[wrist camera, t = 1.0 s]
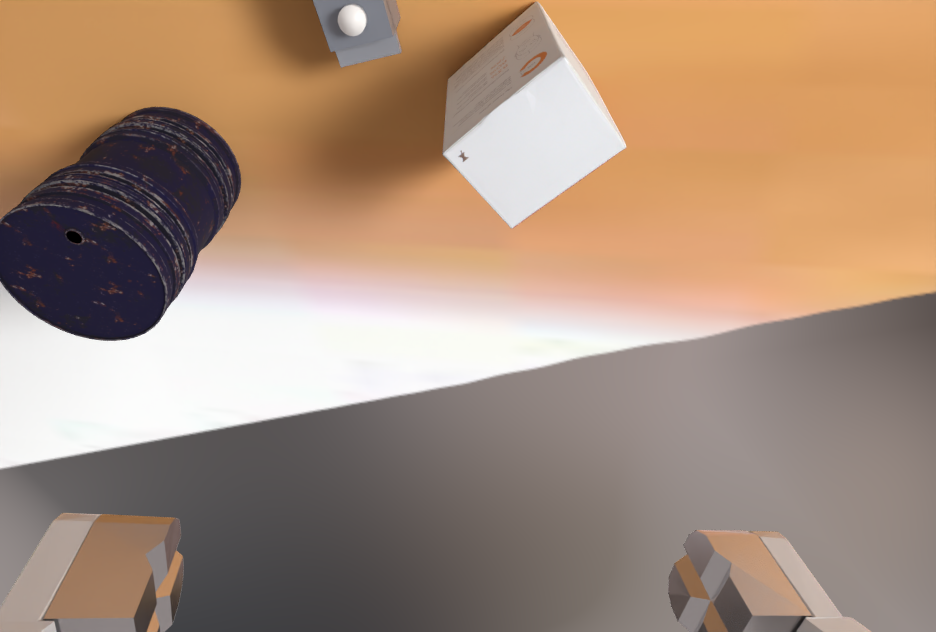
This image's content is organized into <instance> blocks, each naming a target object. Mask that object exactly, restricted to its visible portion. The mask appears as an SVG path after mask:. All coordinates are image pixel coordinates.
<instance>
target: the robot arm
mask: <svg viewBox="0 0 936 632" xmlns="http://www.w3.org/2000/svg"><path fill="white" fill-rule="evenodd" d="M180 538H181V529H180V521H179V519H177V518H167V517H146V516H127V515H126V516H125V515H107V514H102V515H98V514H75V513H62V514H61V515H60V516H59V517H58V518H56V519H55V520H54V521H53V522H52V523H51V525H50V526H49V528H48V530H47V531H46V533H45V535H44V536H43V538H42V539H41V541H40V543H39V544H38V546H37V548H36V549H35V551H34V553H33V554H32V556H31V557H30V559H29V561H28V562H27V564H26V566H25V567H24V569H23V570H22V572H21V574H20V575H19V577H18V579H17V580H16V582H15V584H14V585H13V587H12V589H11V590H10V592H9V593H8V595H7V597H6V598H5V600H4V602H3V603H2V605H1V606H0V632H164V631H166V630H167V629H168V628H169V627H170V626H171V625H172V624H173V621H174V618H175V614H176V611H177V608H178V604H179V599H180V594H181V589H182V584H183V570H184V566H183V556H182V555H181V554H180V553H178V552H177V551H176V549H177V546H178V543H179V540H180ZM684 548H685V550H686V553H687V555H686V556H684V557H683V558H681V559H680V560H679V561H677V562H676V563H675V564H674V566H673V568H672V571H671V573H670V575H669V588H668V591H669V592H668V594H669V598H670V602H671V607H672V609H673V612H674V614H675V616H676V618H677V621H678V622H679V623H680V624H681V625H682V626H683V627H685V628H686V629H687V630H688V631H689V632H871V631H870V630H868V629H867V628H865V627H864V626H863V625H861V624H860V623H858V622H857V621H856V620H854V619H853V618H851V617H842V615H841V614H840V613H839V611H838V610H837V608H836V607H835V605H834V604H833V603H832V601H831V600H830V598H829V597H828V596H827V594H826V593H825V592H824V590H823V589H822V587H821V586H820V585H819V583H818V582H817V580H816V579H815V578H814V576H813V575H812V573H811V572H810V571H809V569H808V568H807V566H806V565H805V564H804V562H803V561H802V560H801V558H800V557H799V555H798V554H797V553H796V551H795V550H794V548H793V547H792V546H791V544H790V543H789V541H788V540H787V539H786V538H785V537H784V536H783V535H781V534H780V533H778V532H770V531H769V532H767V531H748V532H747V531H734V530H695V531H694V532H692V533H691V534H689V535H688V537H687V539H686V541H685V543H684Z"/></svg>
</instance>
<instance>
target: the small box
mask: <svg viewBox="0 0 936 632" xmlns="http://www.w3.org/2000/svg"><path fill="white" fill-rule="evenodd" d="M625 148H626V144H625V142H624V140H623V137H622V136H621V134H620V132H619V130H618V128H617V126H616V124H615V123H614V121H613V119H612V117H611V115H610V113H609V111H608V109H607V108H606V106H605V104H604V102H603V100H602V98H601V96H600V94H599V92H598V91H597V89H596V87H595V85H594V84H593V82H592V80H591V78H590V76H589V75H588V73H587V71H586V70H585V68H584V67H583V65H582V64H581V63H580V61H579V60H578V58H577V57H576V55H575V54H574V52H573V51H572V49H571V48H570V47H569V45H568V44H567V42H566V41H565V39H564V38H563V36H562V35H561V33H560V32H559V30H558V29H557V28H556V26H555V25H554V23H553V22H552V20H551V19H550V17H549V16H548V15H547V13H546V12H545V10H544V9H543V7H542V6H541V4H540V3H539V2H535V3H534V4H532V5H531V6H530V7H529V8H528V9H527V10H526V11H524V12H523V13H522V14H521V15H520V16H519V17H518V18H516V19H515V20H514V21H513V22H512V23H511V24H509V25H508V26H507V27H506V28H505V29H504V30H503V31H501V32H500V33H499V34H498V35H497V36H496V37H495V38H494V39H492V40H491V41H490V42H489V43H488V44H487V45H486V46H485V47H483V48H482V49H481V50H480V51H479V52H478V53H477V54H476V55H474V56H473V57H472V58H471V59H470V60H469V61H468V62H466V63H465V64H464V65H463V66H462V67H461V68H460V69H459V70H458V71H456V72H455V73H454V74H453V75H452V76H451V77H450V78H449V79H448V84H447V99H446V113H445V127H444V140H443V153H442V154H443V156H444V157H445V158H446V159H447V160H448V161H449V162H450V163H451V164H452V165H453V166H454V167H455V168H456V169H457V170H458V171H459V172H460V173H461V174H462V175H463V177H464V178H465V179H466V180H467V181H468V182H469V183H470V184H471V185H472V186H473V187H474V188H475V189H476V191H477V192H478V193H479V194H480V195H481V196H482V197H483V198H484V199H485V200H486V201H487V202H488V204H489V205H490V206H491V207H492V208H493V209H494V210H495V211H496V212H497V213H498V215H499V216H500V217H501V218H502V219H503V220H504V221H505V222H506V223H507V224H508V225H509V227H510V228H514V227H516V226H517V225H518V224H520V223H521V222H523V221H524V220H525V219H527V218H528V217H530V216H531V215H532V214H534V213H535V212H537V211H538V210H539V209H541V208H542V207H544V206H545V205H546V204H548V203H549V202H551V201H552V200H553V199H555V198H556V197H558V196H559V195H560V194H562V193H563V192H565V191H566V190H568V189H569V188H570V187H572V186H573V185H574V184H576V183H577V182H579V181H580V180H582V179H583V178H584V177H586V176H587V175H588V174H590V173H591V172H593V171H594V170H596V169H597V168H598V167H600V166H601V165H603V164H604V163H605V162H607V161H608V160H610V159H611V158H612V157H614V156H615V155H617V154H618V153H619V152H621V151H622V150H624V149H625Z"/></svg>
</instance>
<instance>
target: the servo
mask: <svg viewBox="0 0 936 632" xmlns="http://www.w3.org/2000/svg"><path fill="white" fill-rule="evenodd" d="M313 2H314V5H315V8H316V11H317V14H318V17H319V20H320V23H321V26H322V28H323V31H324V34H325V37H326V40H327V43H328V46H329V49H330V51H331V52H333V51H335V52H336V55H337V58H338V61H339V64H340V67H345V66H349V65H353V64H357V63H362V62H366V61H370V60H374V59H378V58H382V57H386V56H391V55H395V54H399V53H401V51H402V50H401V46H400V42H399V39H398V35H397V32H396V28H397V26H398V23H399V21H400V14H399V10H398V6H397V3H396V0H313Z"/></svg>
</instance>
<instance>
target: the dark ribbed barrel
mask: <svg viewBox="0 0 936 632" xmlns="http://www.w3.org/2000/svg"><path fill="white" fill-rule="evenodd" d="M240 188H241V174H240V170H239V165H238V163H237V160H236V158H235V155H234V154H233V152H232V150H231V148H230V147H229V145H228V144H227V143H226V142H225V140H224V139H223V138H222V137H221V136H220V135H219V134H218V133H217V132H216V131H215V130H214V129H213V128H212V127H210V126H209V125H208V124H207V123H205V122H204V121H202V120H200V119H199V118H197V117H195V116H193V115H191V114H189V113H186V112H183V111H180V110H177V109H173V108H167V107H150V108H144V109H141V110H138V111H135V112H133V113H132V114H130V115H128V116H127V117H126V118H124V119H123V120H122V121H121V122H120V123H117V124H116V125H114V126H112V127H110V128H109V129H108V130H107V131H105V132H104V133H103V134H102V135H101V136H100V137H98V138H97V139H96V140H95V141H94V142H93V143H92V144H91V145H90V146H89V147H88V148H87V149H86V150H85V152H84V153H83V155H82V156H81V158H80V160H79V161H78V162H77V163H76V164H73V165H70V166H67V167H66V168H63V169H60V170H59V171H57V172H55V173H53V174H52V175H50V176H49V177H48V178H47V179H46V180H45V181H44V182H43V183H41V184H40V185H39V186H37V187H36V188H35V189H34V190H32V191H31V192H30V193H29V194H28V195H27V196H26V197H25V198H24V199H23V200H22V202H21V203H20V204H19V205H18V206H17V207H15V208H13V209H12V210H11V211H10V212H9V213H7V214H6V215H5V216H4V217H3V218H2V219H1V220H0V282H1V283H2V284H3V286H4V287H5V288H6V290H7V291H8V292H9V293H10V295H11V296H12V297H13V298H14V299H15V300H16V301H17V302H18V303H19V304H21V305H22V306H23V307H24V308H25V309H26V310H28V311H29V312H30V313H32V314H33V315H35V316H36V317H38V318H39V319H41V320H43V321H44V322H46V323H48V324H50V325H51V326H54V327H56V328H58V329H60V330H62V331H65V332H68V333H71V334H74V335H76V336H80V337H84V338H89V339H95V340H103V341H117V340H126V339H130V338H134V337H138V336H140V335H142V334H144V333H146V332H148V331H149V330H151V329H152V328H153V327H154V326H155V325H156V324H157V323H158V322H159V321H160V319H161V318H162V316H163V315H164V313H165V311H166V310H167V308H168V307H169V305H170V304H171V303H172V302H173V301H174V300H175V298H176V297H177V296H178V294H179V293H180V291H181V290H182V288H183V286H184V285H185V283H186V281H187V280H188V279H189V278H190V276H191V274H192V272H193V270H194V267H195V264H196V261H197V257H198V254H199V252H200V251H201V250H202V249H203V248H205V247H206V246H207V245H208V244H209V243H210V241H211V240H212V239H213V237H214V236H215V235H216V233H217V232H218V231H219V230H220V229H221V227H222V226H223V224H224V223H225V221H226V219H227V218H228V216H229V213H230V210H231V209H232V207H233V206H234V204H235V202H236V201H237V199H238V196H239V193H240Z"/></svg>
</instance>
